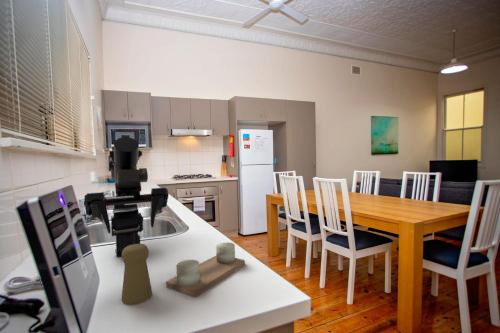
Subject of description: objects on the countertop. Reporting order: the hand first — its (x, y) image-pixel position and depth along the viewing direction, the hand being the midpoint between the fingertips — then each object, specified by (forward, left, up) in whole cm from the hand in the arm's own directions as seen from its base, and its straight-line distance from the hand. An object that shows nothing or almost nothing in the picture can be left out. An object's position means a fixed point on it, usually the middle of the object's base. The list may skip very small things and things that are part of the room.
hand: (131, 229), depth 61 cm
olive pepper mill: (0, -7, -13) cm, 15 cm away
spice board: (+17, -6, -13) cm, 22 cm away
